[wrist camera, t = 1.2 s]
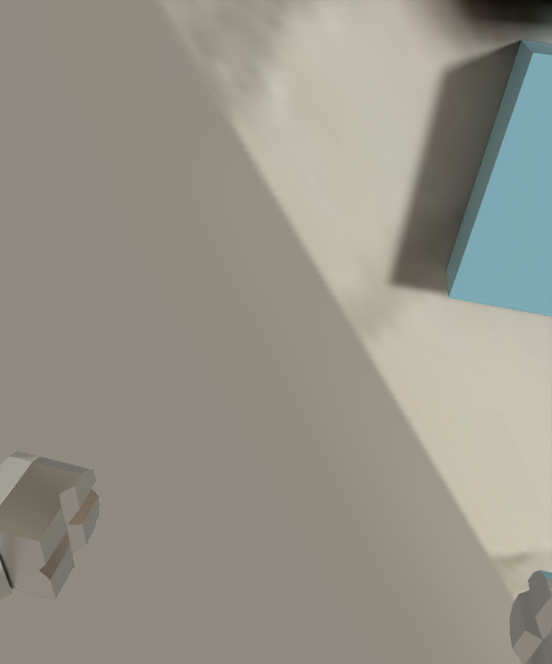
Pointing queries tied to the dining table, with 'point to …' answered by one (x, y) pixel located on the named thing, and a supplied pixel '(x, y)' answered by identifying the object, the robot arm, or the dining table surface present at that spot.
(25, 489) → the robot arm
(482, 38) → the dining table surface
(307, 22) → the dining table surface
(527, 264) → the light blue flat block
